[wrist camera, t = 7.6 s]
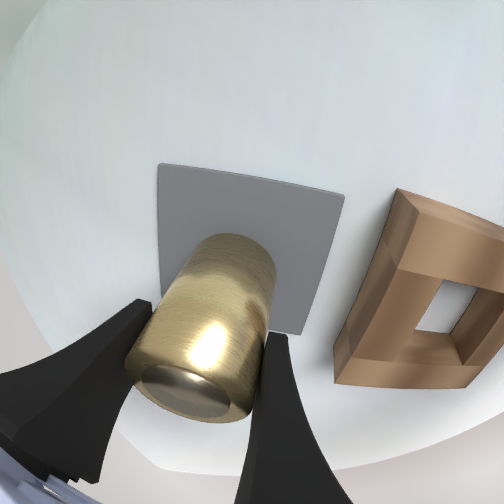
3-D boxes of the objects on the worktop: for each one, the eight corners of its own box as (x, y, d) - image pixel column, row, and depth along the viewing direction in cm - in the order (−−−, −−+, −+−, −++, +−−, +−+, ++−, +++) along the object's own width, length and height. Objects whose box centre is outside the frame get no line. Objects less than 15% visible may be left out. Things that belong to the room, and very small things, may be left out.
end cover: (292, 259, 13) (277, 394, 7) (254, 318, 15) (224, 436, 9) (206, 217, 13) (126, 328, 7) (181, 284, 15) (120, 390, 9)
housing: (528, 239, 11) (552, 264, 8) (455, 359, 17) (465, 388, 14) (397, 188, 12) (419, 212, 9) (333, 346, 18) (334, 383, 15)
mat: (343, 194, 12) (344, 197, 12) (300, 330, 17) (300, 335, 17) (161, 163, 13) (157, 164, 13) (164, 300, 18) (162, 303, 17)
